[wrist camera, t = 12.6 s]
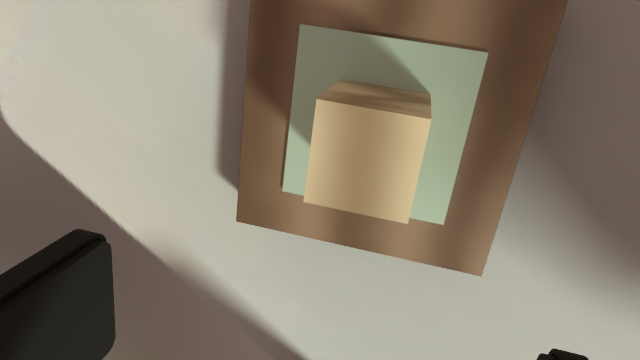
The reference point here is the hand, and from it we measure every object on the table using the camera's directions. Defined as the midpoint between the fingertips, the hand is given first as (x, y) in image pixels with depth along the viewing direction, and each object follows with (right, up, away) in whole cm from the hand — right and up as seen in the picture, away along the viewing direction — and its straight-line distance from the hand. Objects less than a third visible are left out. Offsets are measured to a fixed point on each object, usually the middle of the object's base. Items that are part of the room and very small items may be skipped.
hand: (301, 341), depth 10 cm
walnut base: (+4, +8, +19) cm, 21 cm away
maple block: (+4, +6, +16) cm, 18 cm away
